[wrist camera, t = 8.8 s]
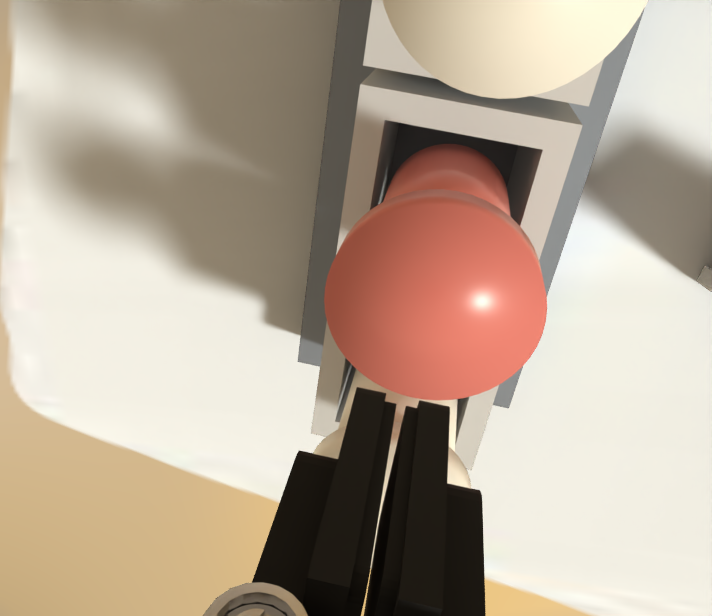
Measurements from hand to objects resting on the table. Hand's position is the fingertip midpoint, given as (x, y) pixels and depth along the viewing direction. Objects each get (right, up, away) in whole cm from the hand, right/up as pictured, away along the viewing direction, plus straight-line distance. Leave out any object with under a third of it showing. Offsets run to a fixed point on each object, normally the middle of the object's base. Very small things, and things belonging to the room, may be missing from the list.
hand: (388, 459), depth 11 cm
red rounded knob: (+3, +7, +12) cm, 14 cm away
